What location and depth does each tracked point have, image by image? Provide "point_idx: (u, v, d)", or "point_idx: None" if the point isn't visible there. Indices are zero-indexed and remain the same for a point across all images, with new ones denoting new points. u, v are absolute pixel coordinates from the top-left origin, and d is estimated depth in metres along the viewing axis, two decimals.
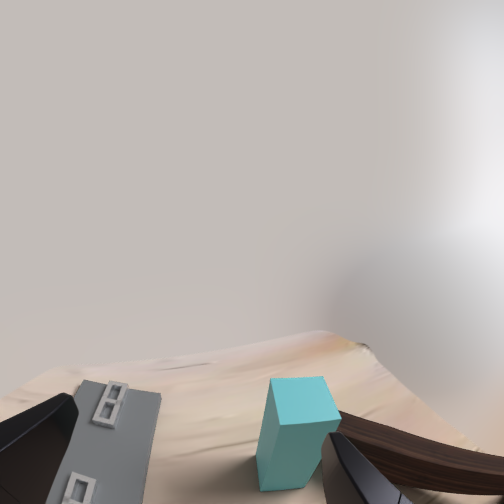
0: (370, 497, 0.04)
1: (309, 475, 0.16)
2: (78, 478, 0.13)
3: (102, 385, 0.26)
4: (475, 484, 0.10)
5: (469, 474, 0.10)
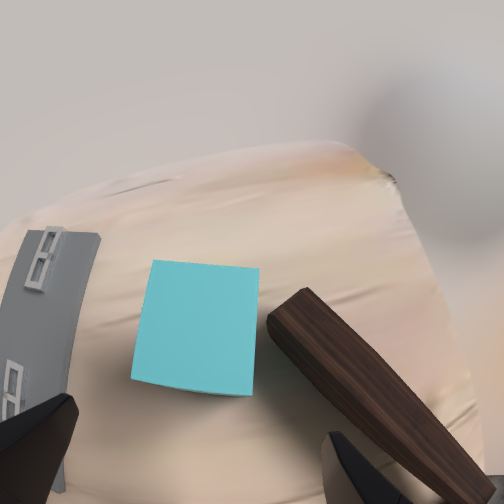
0: (370, 497, 0.04)
1: (241, 396, 0.15)
2: (11, 366, 0.14)
3: (42, 233, 0.22)
4: (435, 484, 0.10)
5: (434, 476, 0.09)
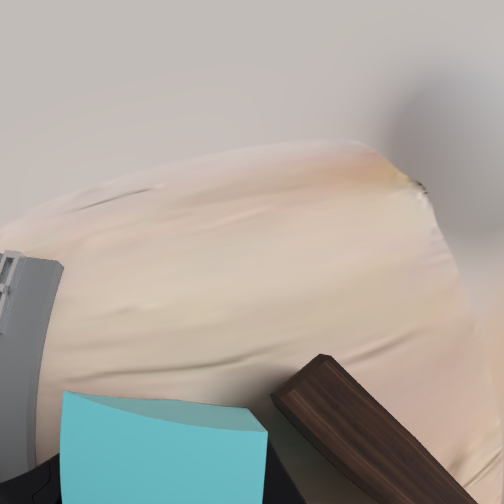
0: None
1: None
2: None
3: None
4: None
5: None
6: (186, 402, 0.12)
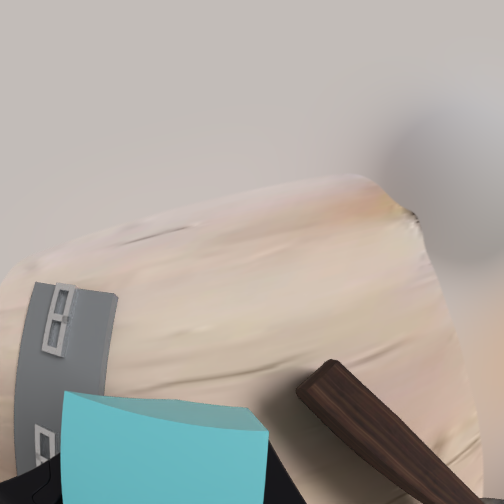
0: None
1: None
2: (41, 432, 0.13)
3: (52, 287, 0.21)
4: None
5: None
6: (186, 402, 0.12)
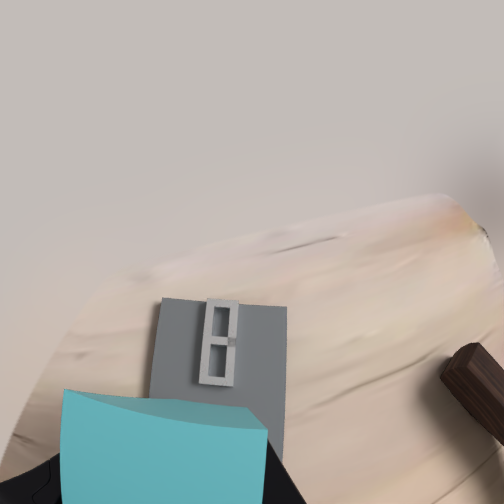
0: None
1: None
2: None
3: (194, 304, 0.21)
4: None
5: None
6: (186, 401, 0.12)
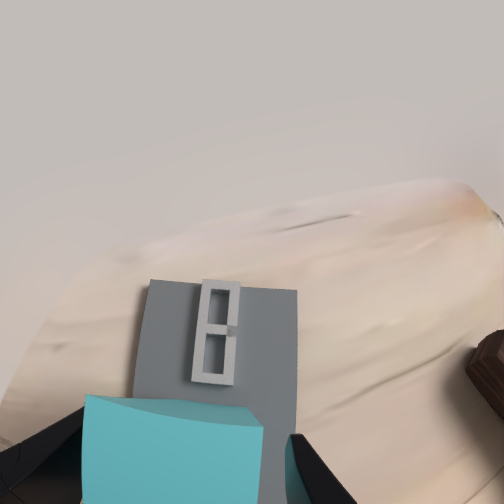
0: None
1: None
2: None
3: (188, 287, 0.18)
4: None
5: None
6: None
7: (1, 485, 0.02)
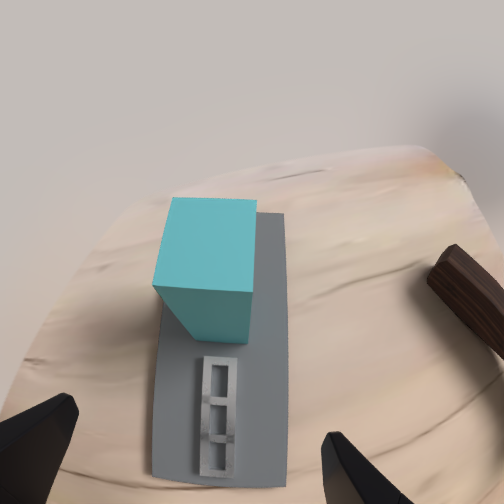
0: (370, 497, 0.04)
1: (245, 336, 0.18)
2: (214, 363, 0.18)
3: None
4: None
5: None
6: None
7: None
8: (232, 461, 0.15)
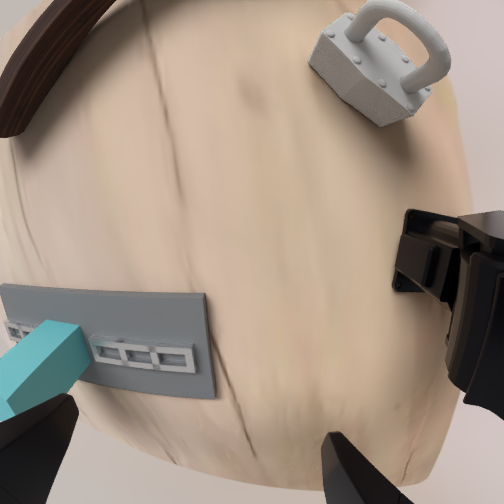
0: (370, 497, 0.04)
1: (64, 343, 0.17)
2: (97, 354, 0.20)
3: None
4: None
5: None
6: None
7: None
8: (173, 348, 0.19)
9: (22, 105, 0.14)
